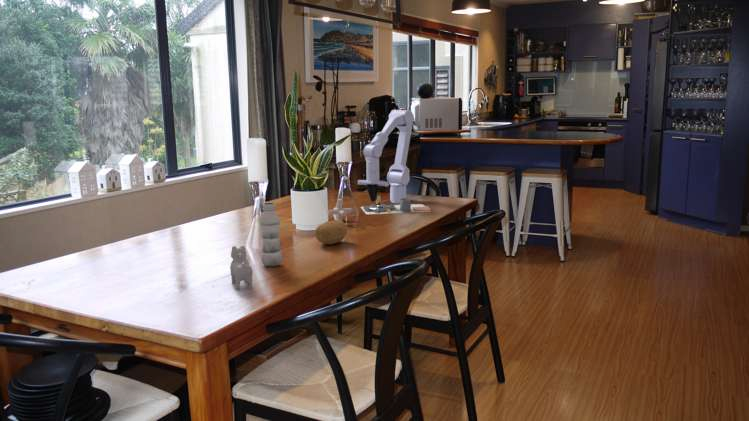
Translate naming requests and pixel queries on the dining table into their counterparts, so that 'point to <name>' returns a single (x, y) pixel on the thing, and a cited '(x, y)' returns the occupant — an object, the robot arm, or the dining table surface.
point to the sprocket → (379, 207)
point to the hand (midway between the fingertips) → (373, 201)
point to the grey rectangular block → (405, 205)
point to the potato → (331, 232)
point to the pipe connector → (339, 210)
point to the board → (413, 209)
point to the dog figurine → (240, 267)
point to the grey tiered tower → (270, 236)
